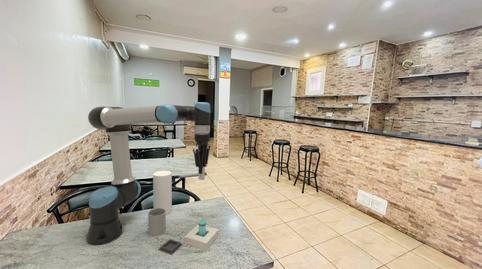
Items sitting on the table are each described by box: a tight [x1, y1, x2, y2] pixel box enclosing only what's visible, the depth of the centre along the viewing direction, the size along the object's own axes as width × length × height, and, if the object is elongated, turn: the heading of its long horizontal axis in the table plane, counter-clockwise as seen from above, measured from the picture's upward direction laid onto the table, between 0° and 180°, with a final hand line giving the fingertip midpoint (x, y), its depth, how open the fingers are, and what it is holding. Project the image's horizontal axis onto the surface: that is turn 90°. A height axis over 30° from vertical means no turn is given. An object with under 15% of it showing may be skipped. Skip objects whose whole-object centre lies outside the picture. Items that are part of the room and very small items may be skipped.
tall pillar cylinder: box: [152, 170, 173, 216], centre depth 126 cm, size 11×11×25 cm
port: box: [184, 223, 220, 251], centre depth 100 cm, size 12×12×4 cm
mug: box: [147, 208, 167, 236], centre depth 107 cm, size 12×8×11 cm
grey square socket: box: [157, 238, 184, 256], centre depth 94 cm, size 8×8×2 cm
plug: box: [198, 219, 207, 237], centre depth 100 cm, size 4×4×10 cm
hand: (201, 179), depth 103 cm, fingers closed
